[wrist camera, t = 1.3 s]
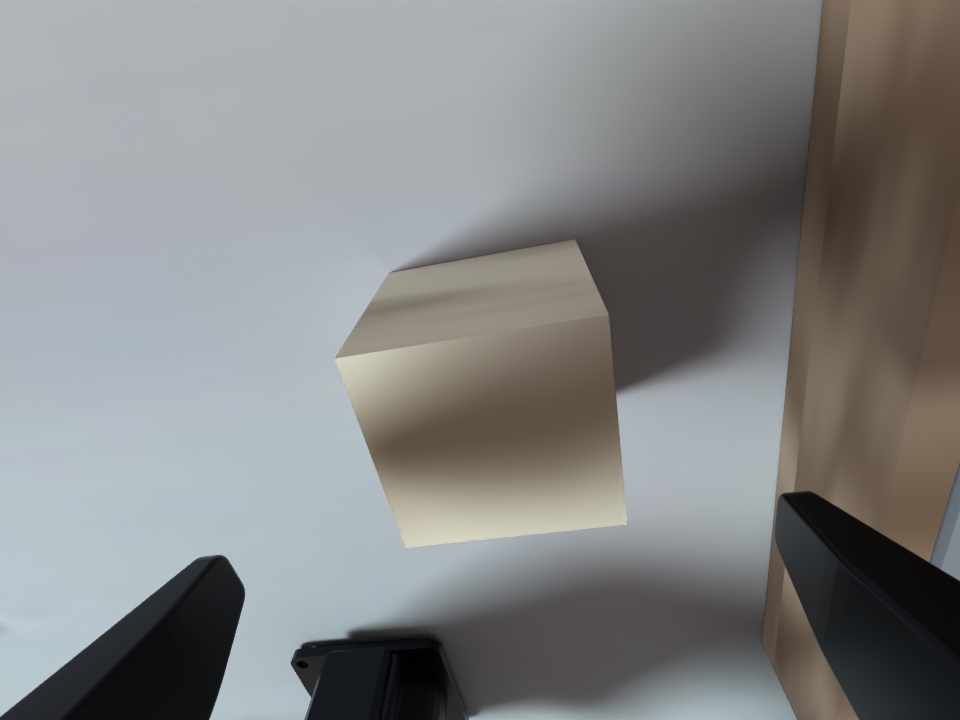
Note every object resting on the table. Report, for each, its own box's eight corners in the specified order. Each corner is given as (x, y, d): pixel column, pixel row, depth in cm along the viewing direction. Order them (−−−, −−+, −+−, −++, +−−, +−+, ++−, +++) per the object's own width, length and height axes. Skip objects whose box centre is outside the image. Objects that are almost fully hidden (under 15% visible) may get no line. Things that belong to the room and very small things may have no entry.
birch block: (592, 399, 15) (627, 524, 11) (433, 421, 16) (405, 548, 12) (574, 238, 13) (608, 314, 9) (389, 271, 14) (334, 358, 9)
